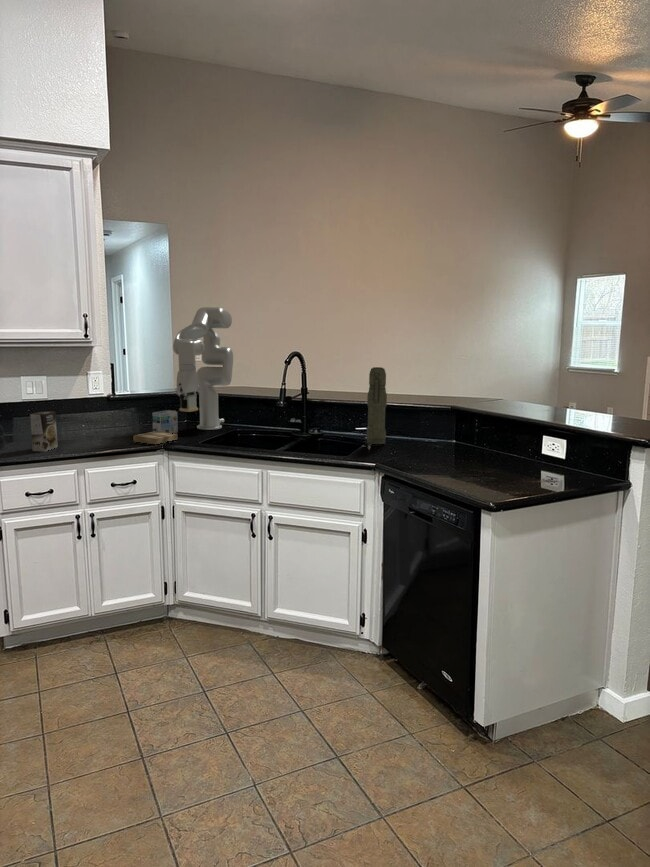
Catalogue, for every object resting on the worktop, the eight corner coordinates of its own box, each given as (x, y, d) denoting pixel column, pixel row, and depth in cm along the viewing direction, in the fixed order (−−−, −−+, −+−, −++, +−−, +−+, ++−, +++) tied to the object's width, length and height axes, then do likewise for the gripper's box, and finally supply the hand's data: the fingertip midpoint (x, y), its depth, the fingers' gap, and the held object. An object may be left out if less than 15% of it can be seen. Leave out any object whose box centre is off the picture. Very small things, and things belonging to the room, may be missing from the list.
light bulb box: (161, 435, 311) (160, 413, 309) (152, 434, 315) (151, 412, 313) (178, 432, 319) (177, 411, 317) (169, 431, 323) (169, 409, 321)
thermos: (366, 445, 291) (368, 368, 285) (365, 440, 303) (367, 366, 296) (386, 446, 291) (388, 369, 285) (384, 441, 303) (386, 366, 296)
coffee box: (45, 451, 273) (42, 414, 270) (32, 451, 274) (29, 413, 271) (58, 447, 281) (56, 411, 278) (45, 446, 283) (42, 410, 280)
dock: (156, 437, 306) (156, 430, 306) (177, 440, 299) (177, 434, 299) (133, 442, 295) (133, 435, 294) (155, 445, 287) (155, 438, 287)
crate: (188, 408, 301) (188, 393, 300) (198, 410, 298) (197, 394, 297) (179, 410, 296) (178, 395, 295) (189, 412, 293) (188, 396, 292)
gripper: (194, 365, 302) (195, 403, 306) (167, 368, 288) (169, 409, 292) (206, 366, 298) (207, 405, 302) (180, 370, 284) (181, 410, 288)
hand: (188, 406), depth 297 cm, fingers closed on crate, 5 cm apart
